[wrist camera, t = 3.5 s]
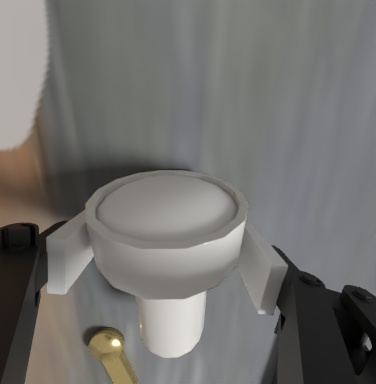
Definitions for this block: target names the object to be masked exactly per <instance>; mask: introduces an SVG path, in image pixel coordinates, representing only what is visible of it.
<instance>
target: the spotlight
mask: <svg viewBox="0 0 376 384" xmlns="http://www.w3.org/2000/svg"><path fill="white" fill-rule="evenodd" d="M247 210H248V202H247V200H246V199H245V197H244V196H243V194H242V192H241V191H240V190H239V189H238V188H236V187H235V186H233V185H231V184H230V183H228V182H227V181H225V180H223V179H220V178H217V177H214V176H211V175H208V174H205V173H198V172H191V171H185V170H157V171H150V172H142V173H136V174H133V175H129V176H126V177H122V178H119V179H116V180H114V181H112V182H110V183H108V184H107V185H105V186H103V187H101V188H99V189H97V191H96V192H95V193H94V194H93V195H92V196H91V198H90V199H89V200H88V201H87V202H86V203H85V221H86V225H87V230H88V234H89V238H90V242H91V246H92V250H93V254H94V258H95V263H96V267H97V268H98V270H99V271H100V272H101V273H102V274H103V276H104V277H105V278H106V279H107V280H108V281H109V283H110V284H111V285H112V286H113V287H114V288H116V289H119V290H121V291H124V292H127V293H129V294H132V295H134V296H135V299H136V306H137V314H138V321H139V328H140V332H141V337H142V341H143V342H144V344H145V345H146V346H147V348H148V349H149V350H150V351H151V352H152V353H154V354H156V355H159V356H161V357H163V358H174V357H180V356H181V355H183V354H185V353H187V352H189V351H191V350H192V349H193V347H194V346H195V345H196V344H197V342H198V341H199V340H200V337H201V333H202V330H203V326H204V315H205V304H206V292H207V290H209V289H212V288H214V287H217V286H219V285H220V283H221V282H222V281H223V280H224V279H225V278H226V277H227V276H228V275H229V274H230V273H231V272H232V271H233V270H234V269H235V268H236V267H237V264H238V259H239V254H240V249H241V244H242V239H243V233H244V227H245V221H246V216H247Z"/></svg>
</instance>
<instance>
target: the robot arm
mask: <svg viewBox="0 0 376 384" xmlns="http://www.w3.org/2000/svg"><path fill="white" fill-rule="evenodd" d="M93 257H94V254H93V250H92V246H91V242H90V238H89V234H88V230H87V225H86V221H85V210H84V211H82V212H81V213H80V214H78V215H77V216H75V217H74V218H73V219H71V220H70V221H65V220H64V221H62V222H59V223H56V224H54V225H53V226H51V227H50V228H49V229H47V230H45V231H44V232H42V233H41V234H39V227H38V225H36V224H32V223H15V224H10V225H6V226H4V227H1V228H0V384H24V382H25V377H26V372H27V367H28V361H29V356H30V351H31V345H32V340H33V335H34V329H35V324H36V319H37V313H38V308H39V303H40V297H41V294H40V289H41V288H42V287H43V286H44V285H45V284H46V283H47V293H53V294H63V295H65V294H66V292H67V291H68V290H69V288H70V287H71V286H72V284H73V283H74V282H75V280H76V279H77V278H78V277H79V275H80V274H81V273H82V271H83V270H84V269H85V267H86V266H87V265H88V263H89V262H90V261H91V259H92V258H93ZM237 268H238V270H239V272H240V274H241V277H242V279H243V281H244V283H245V285H246V288H247V290H248V292H249V294H250V297H251V299H252V301H253V303H254V306H255V308H256V310H257V312H258V314H267V315H273V314H274V311H275V308H276V304H277V306H278V308H279V310H280V311H281V313H280V316H279V319H278V322H277V325H276V328H275V332H274V333H275V334H277V332H278V369H277V384H376V297H375V296H374V295H373V294H371V293H369V292H368V291H367V290H365V289H363V288H360V287H356V286H352V285H345V286H344V288H343V290H342V293H339V292H336V291H332V290H329V289H326V288H325V285H324V284H323V282H322V281H321V280H320V279H318V278H317V277H315V276H313V275H311V274H309V273H307V272H303V271H300V270H299V269H298V268H297V267H296V266H295V265H294V264H293V263H292V262H291V261H290V259H289V258H288V257H287V256H286V255H285V254H284V253H283V252H282V251H281V250H280V249H278V248H277V247H275V246H273V245H270V244H269V243H268V241H267V240H266V239H265V238H264V237H263V236H262V234H261V233H260V232H259V231H258V230H257V229H256V227H255V226H254V225H253V224H252V223H251V222H250V221H249V219H248V218H247V217H246V221H245V227H244V233H243V239H242V244H241V249H240V254H239V259H238V264H237ZM368 337H369V339H370V341H371V344H372V349H371V350H370V351H369V350H368V348H367V347H366V345H365V343H366V341H367V338H368Z"/></svg>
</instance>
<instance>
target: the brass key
mask: <svg viewBox="0 0 376 384" xmlns="http://www.w3.org/2000/svg"><path fill="white" fill-rule="evenodd" d="M123 344H124V337H123V335H122V334H121V333H120V332H119V331H118V330H116V329H113V328H101V329H99V330H97V331H96V332H95V333H94V334H93V337H92V339H91V341H90V343H89V346H88V350H89V353H90V354H91V356H92V357H94V358H95V359H97V360H100V361H102V363H103V365H104V367H105V368H106V370H107V372H108V374H109V376H110V378H111V379H112V381H113V383H114V384H137V382H138V380H137V378H136V376H135V374H134V372H133V370H132V368H131V366H130V364H129V362H128V360H127V358H126V356H125V354H124V352H123V349H122V347H123Z"/></svg>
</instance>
